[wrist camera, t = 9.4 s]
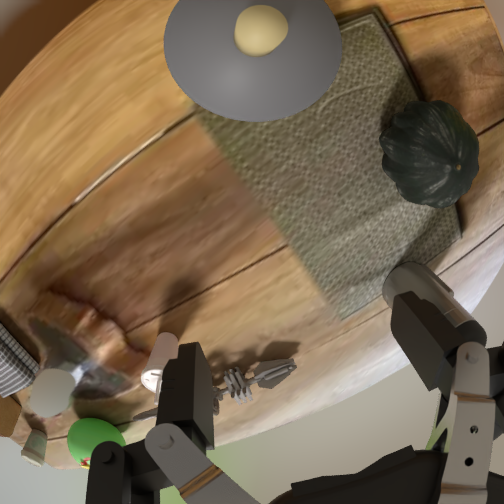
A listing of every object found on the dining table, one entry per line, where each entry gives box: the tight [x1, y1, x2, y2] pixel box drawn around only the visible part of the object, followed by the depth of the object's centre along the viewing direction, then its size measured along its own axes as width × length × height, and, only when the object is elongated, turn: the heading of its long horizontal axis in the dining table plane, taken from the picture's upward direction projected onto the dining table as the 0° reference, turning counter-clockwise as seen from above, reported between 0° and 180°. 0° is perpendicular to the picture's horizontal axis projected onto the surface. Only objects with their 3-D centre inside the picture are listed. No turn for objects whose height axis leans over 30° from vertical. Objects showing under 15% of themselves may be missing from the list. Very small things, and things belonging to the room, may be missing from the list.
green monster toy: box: [67, 418, 126, 469], centre depth 54 cm, size 18×17×15 cm
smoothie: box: [141, 332, 178, 405], centre depth 42 cm, size 6×6×14 cm
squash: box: [379, 100, 479, 208], centre depth 33 cm, size 14×15×15 cm
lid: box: [164, 0, 342, 122], centre depth 22 cm, size 18×18×6 cm
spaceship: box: [133, 358, 297, 421], centre depth 51 cm, size 8×35×8 cm
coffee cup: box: [21, 429, 47, 467], centre depth 58 cm, size 9×9×12 cm
